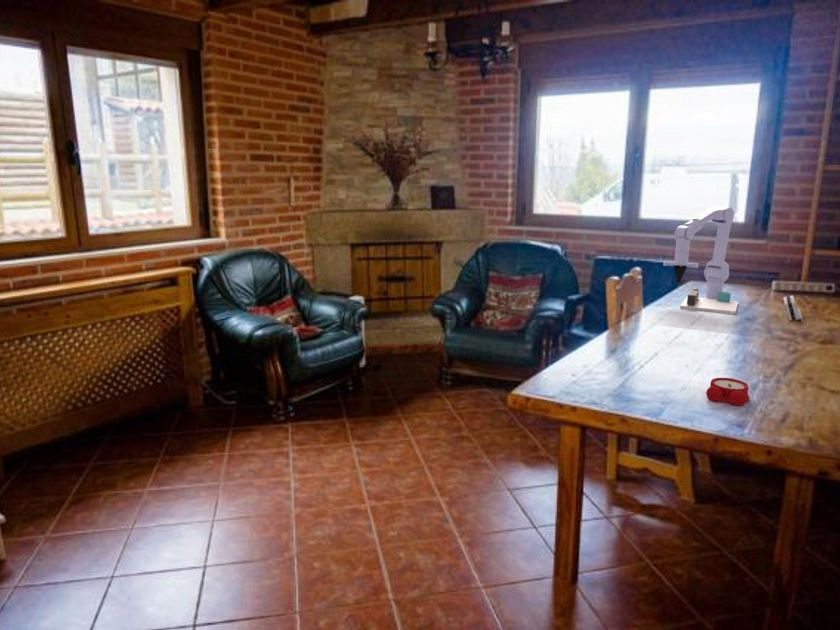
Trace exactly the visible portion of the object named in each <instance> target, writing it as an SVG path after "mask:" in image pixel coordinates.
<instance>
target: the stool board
mask: <svg viewBox="0 0 840 630" xmlns="http://www.w3.org/2000/svg"><path fill="white" fill-rule="evenodd" d="M731 295H732V293H731V292H728V291H727V292H726V291H723V292H719V293H718V300H716V299H706V298H704V297H698V300H697V302H696V303H695V305H687V298H688V296H686V297H685V298H684V300H683V301H682V303H681V304H680V307H679V308H680V309H682V308H685V310H692V309H693V310H694V311H701V310H702V311H703V312H711V313H720V314H721V313H722V314H728V313H730V314H729V315H736V312H737V309H738V306H739V301H735V300H731ZM693 310H692V311H693Z"/></svg>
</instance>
